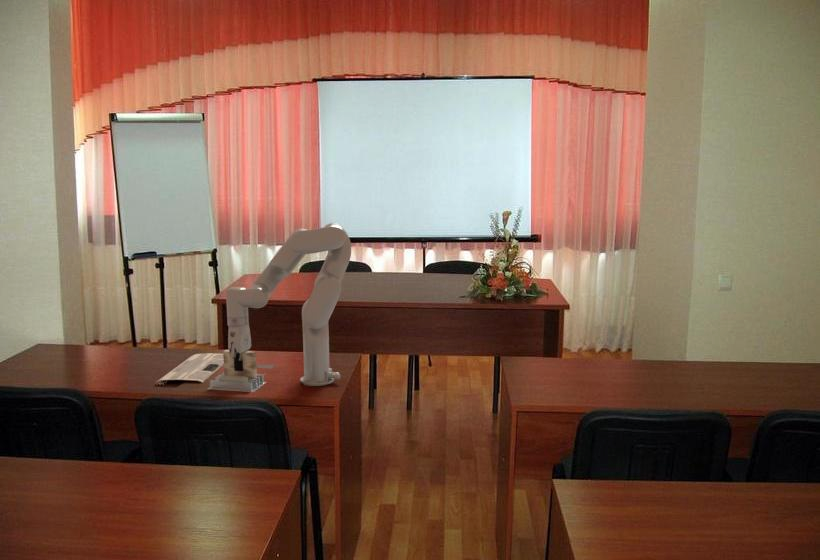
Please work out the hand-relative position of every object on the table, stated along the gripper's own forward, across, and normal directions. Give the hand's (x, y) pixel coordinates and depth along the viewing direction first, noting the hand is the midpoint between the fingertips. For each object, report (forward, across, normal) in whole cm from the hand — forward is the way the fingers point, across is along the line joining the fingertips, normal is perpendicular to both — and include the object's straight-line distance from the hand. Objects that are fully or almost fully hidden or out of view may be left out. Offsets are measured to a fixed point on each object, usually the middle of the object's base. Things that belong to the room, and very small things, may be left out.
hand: (240, 369), depth 277 cm
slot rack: (+6, -3, 0) cm, 7 cm away
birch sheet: (+5, 0, 0) cm, 5 cm away
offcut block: (+5, -6, 0) cm, 8 cm away
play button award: (+7, +14, +4) cm, 16 cm away
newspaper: (+7, +14, +26) cm, 31 cm away
